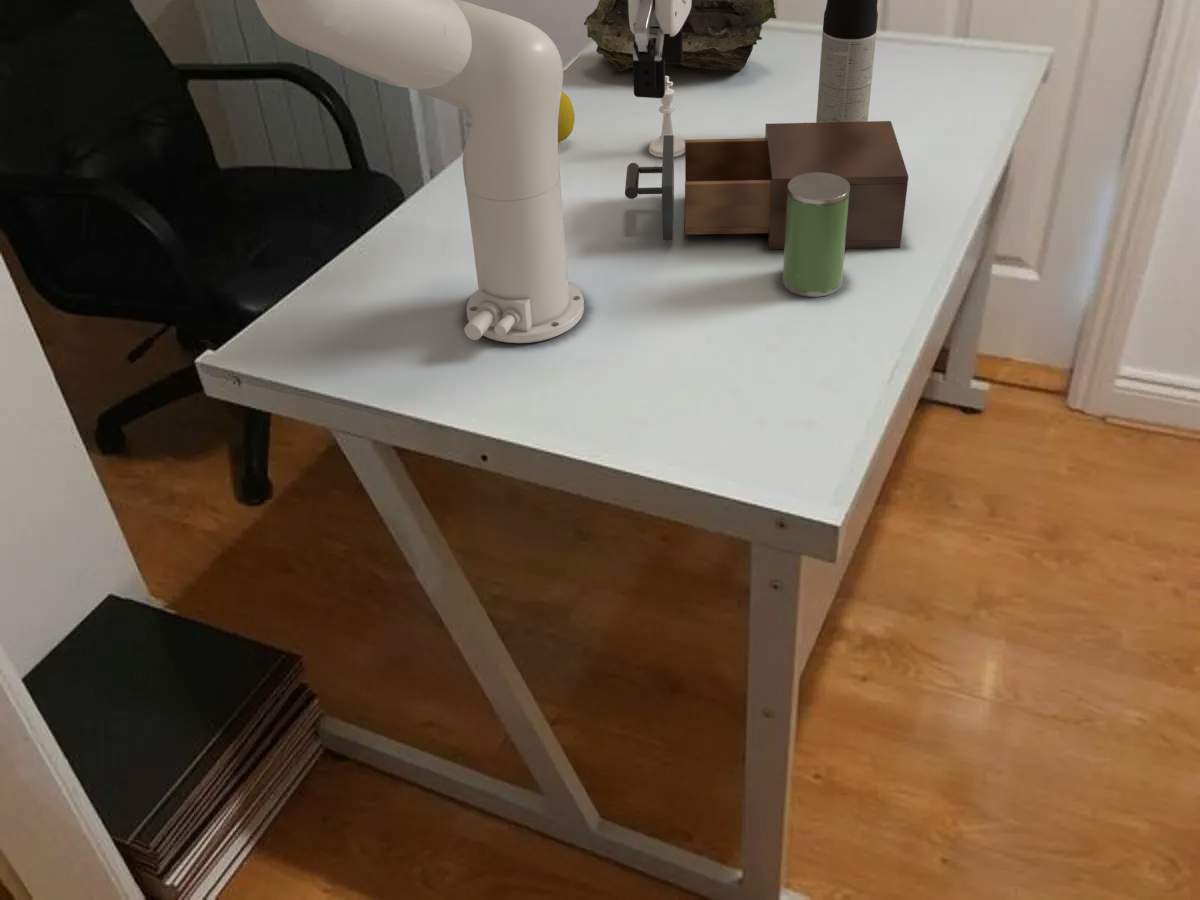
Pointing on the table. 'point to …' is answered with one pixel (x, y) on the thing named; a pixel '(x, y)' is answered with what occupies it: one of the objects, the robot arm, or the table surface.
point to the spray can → (847, 60)
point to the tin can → (815, 233)
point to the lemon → (565, 118)
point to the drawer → (713, 186)
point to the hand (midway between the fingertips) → (658, 79)
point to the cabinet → (842, 175)
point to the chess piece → (667, 124)
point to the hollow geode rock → (688, 32)
